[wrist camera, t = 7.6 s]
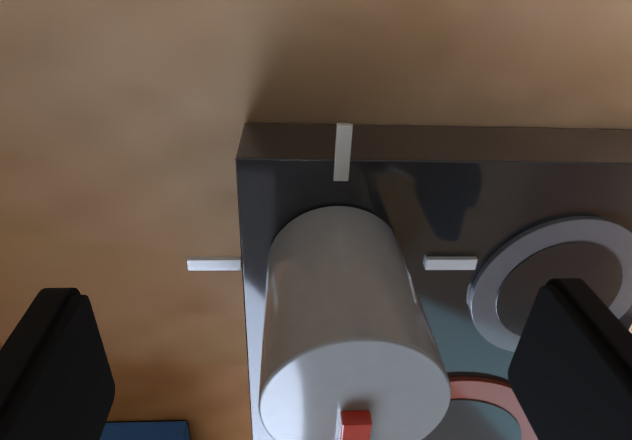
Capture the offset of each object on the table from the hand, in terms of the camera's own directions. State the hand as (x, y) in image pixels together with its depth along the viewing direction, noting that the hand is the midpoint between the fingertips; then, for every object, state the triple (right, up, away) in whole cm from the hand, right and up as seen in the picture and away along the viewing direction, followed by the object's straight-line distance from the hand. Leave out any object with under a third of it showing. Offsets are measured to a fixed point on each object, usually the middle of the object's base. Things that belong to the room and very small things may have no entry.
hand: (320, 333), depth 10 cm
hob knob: (0, +1, +3) cm, 3 cm away
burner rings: (+5, -3, +6) cm, 8 cm away
